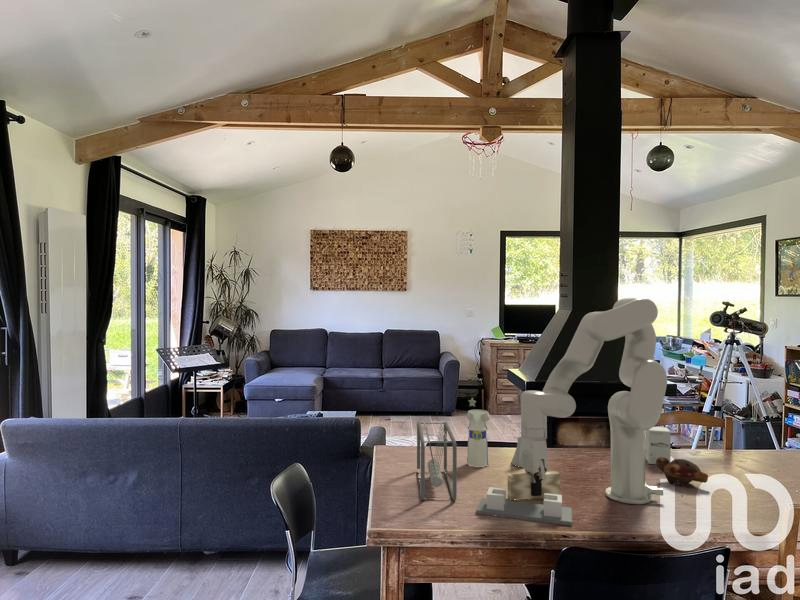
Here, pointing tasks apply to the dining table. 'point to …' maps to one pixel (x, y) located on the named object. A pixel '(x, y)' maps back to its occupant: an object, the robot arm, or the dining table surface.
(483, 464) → the water bottle
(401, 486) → the dining table surface
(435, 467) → the newton's cradle
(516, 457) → the flask
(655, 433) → the supplement box
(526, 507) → the frame
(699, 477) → the decorative turtle
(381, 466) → the dining table surface
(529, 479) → the slat
